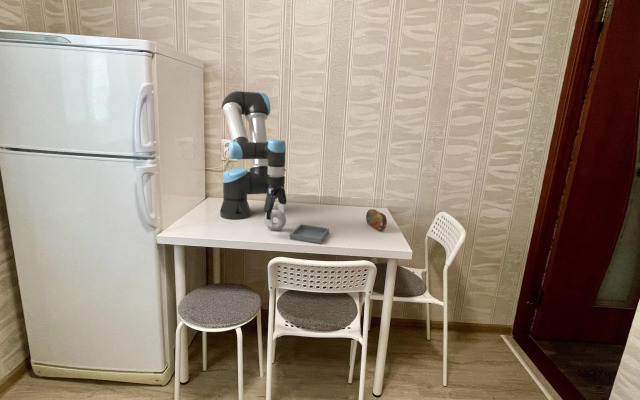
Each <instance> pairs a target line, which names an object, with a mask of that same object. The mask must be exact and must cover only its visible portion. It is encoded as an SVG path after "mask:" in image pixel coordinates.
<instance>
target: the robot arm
mask: <svg viewBox="0 0 640 400" xmlns="http://www.w3.org/2000/svg"><path fill="white" fill-rule="evenodd" d="M221 113H222V115H223V117H225V118H226V123H227V128H228V132H229V136H230V140H231V141H230V142H229V144H228V156H229V158H230V159H232V160H251V166H250V168H249V171H248V169H247V168H244V167H242V168H239V167H238V168H237V167H236V168H232V169H228V170H226V171H225V172H224V173H223V175H222V188H223V189H222V191H223V201H222V204H221V207H220V210H219V214H220V215H219V216H220V217H221V218H222V219H227V220H241V219H246V218H249V217H250V216H251V214H252V213H251V207H250V205H249V202H248V201H249V200H248V195H263V194H264V195H266V197H265V202H264V207H263V212H264V213H265V215H266V224H265V226H266V227H267V226H271V227H272V225H273V220H274V217H273V212H272V210H274V209H273V208H274V205H275V201H276V200H278V204H277V205H278V207H277V208H278V209H277V210H280V211H281V212H283V213H284V214H285V205H287V196H286V190H285V183H286V177H285V175H286V174H285V173H286V170H287V169H286V153H287V152H286V150H287V147H286V146H287V145H286V141H285V140H283V139H269V140H267V139H268V138H267V137H268V136H267V131H266V130H267V129H266V127H267V125H266V120H267V119H268V117H269V116H270V113H271V103H270V99H269V96H268V95H267V94H266V93H264V92H258V91H256V92H255V91H239V90H236V91H232V92H230V93H229V94H227V95H226V96H225V98H224V99H223V101H222V103H221ZM242 115H243V116H244V118H245V120H246V121H247V122H248V131H249V137H248V134H247V130H246V127H245V123H244V120H243V116H242Z"/></svg>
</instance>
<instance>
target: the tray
mask: <svg viewBox="0 0 640 400" xmlns="http://www.w3.org/2000/svg"><path fill="white" fill-rule="evenodd" d="M329 231H330V228H328V227H322V226H321V227H320V226H313V225H307V224H301V223H300V224H299V225H298V226H296V228H295V229H294V230H293V231H292V232H291V233H289V240H293V241H298V242H304V243H305V242H306V243H309V244H316V245H321V244H322V243H323V242H324V241H325V239H326V237H328V235H329Z"/></svg>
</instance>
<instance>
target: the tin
mask: <svg viewBox="0 0 640 400" xmlns="http://www.w3.org/2000/svg"><path fill="white" fill-rule="evenodd" d="M365 220H366V223H367V225H368V226H369V227H371V228H372V229H375V230H376V231H377V232H378V231H383V230H385V229H386V228H387V223H388V222H387V221H388V219H387V217H386V215H385V214H384V213H383V212H380V211H379V210H377V209H375V208H374V209H370V208H369V209H368V210H367V212H366V215H365Z"/></svg>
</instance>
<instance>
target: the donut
mask: <svg viewBox="0 0 640 400" xmlns="http://www.w3.org/2000/svg"><path fill="white" fill-rule="evenodd" d="M272 212H273V218H274V217H275V218H277V219H278V222H273V225H272V227H271V226H266V227H267V228H268V229H270V230H271V231H279V230H282V229H283V228H284V227H285V225H286V223H287V218H286V215H285V212H284V213H283V212H281V211H280V210H278V209H272ZM264 225H266V214H265V215H264Z"/></svg>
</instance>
